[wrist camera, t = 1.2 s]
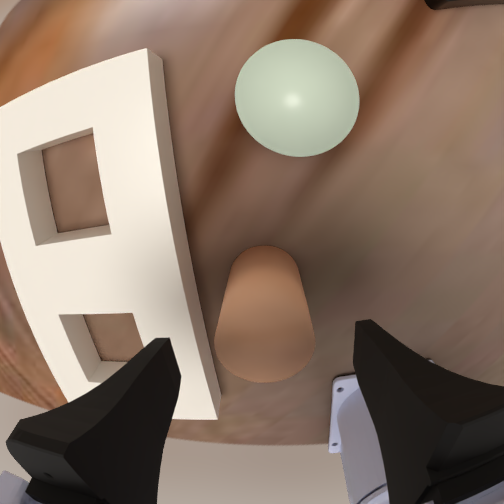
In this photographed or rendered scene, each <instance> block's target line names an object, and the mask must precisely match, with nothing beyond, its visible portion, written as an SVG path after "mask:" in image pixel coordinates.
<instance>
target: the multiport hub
mask: <svg viewBox="0 0 504 504" xmlns="http://www.w3.org/2000/svg"><path fill="white" fill-rule="evenodd" d="M424 1H425V2H426V4H427V5H428V7H430V8H431V9H433V10H438V9H446V8H454V7H463V6H474V5H488V4H504V0H424Z"/></svg>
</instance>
